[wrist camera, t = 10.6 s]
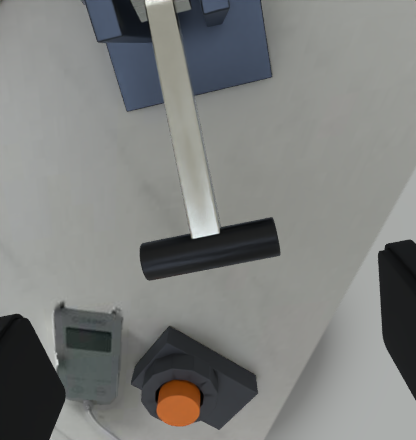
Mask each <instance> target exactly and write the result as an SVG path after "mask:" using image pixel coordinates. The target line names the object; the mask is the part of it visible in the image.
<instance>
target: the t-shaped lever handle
mask: <svg viewBox="0 0 416 440" xmlns="http://www.w3.org/2000/svg"><path fill="white" fill-rule="evenodd" d="M129 2H130V3H131V5H132V7H133V9H134V11H135V13H136V14H137V16H138V18H139V20H140V22H145V21H148V25H149V30H150V35H151V40H152V45H153V50H154V55H155V60H156V65H157V70H158V75H159V80H160V85H161V90H162V95H163V100H164V105H165V110H166V115H167V120H168V125H169V130H170V135H171V140H172V145H173V150H174V155H175V160H176V165H177V170H178V175H179V180H180V185H181V190H182V195H183V200H184V205H185V210H186V215H187V220H188V225H189V230H190V234H186V235H181V236H176V237H171V238H166V239H161V240H156V241H151V242H146V243H142V244H141V246H140V262H141V267H142V270H143V273H144V275H145V277H146V279H147V280H156V279H161V278H166V277H171V276H176V275H182V274H187V273H192V272H197V271H203V270H208V269H213V268H218V267H224V266H229V265H234V264H239V263H244V262H250V261H255V260H260V259H265V258H271V257H276V256H280V246H279V240H278V235H277V231H276V227H275V223H274V220H273V218H272V217H270V218H265V219H260V220H255V221H250V222H245V223H240V224H235V225H230V226H225V227H221V223H220V218H219V213H218V208H217V203H216V199H215V194H214V189H213V184H212V179H211V174H210V169H209V164H208V159H207V154H206V149H205V144H204V139H203V134H202V129H201V124H200V119H199V115H198V110H197V105H196V100H195V95H194V90H193V85H192V80H191V75H190V70H189V65H188V60H187V55H186V50H185V45H184V40H183V35H182V31H181V26H180V21H179V16H178V13H180V12H184V11H187V10H191V8H192V5H191V0H129Z"/></svg>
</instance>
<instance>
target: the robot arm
mask: <svg viewBox="0 0 416 440" xmlns="http://www.w3.org/2000/svg"><path fill="white" fill-rule="evenodd" d="M378 264H379V281H380V298H381V317H382V334H383V340H384V343H385V346H386V348H387V350H388V352H389V354H390V355H391V357H392V359H393V361H394V363H395V364H396V366H397V368H398V370H399V371H400V373H401V375H402V377H403V379H404V380H405V382H406V384H407V386H408V387H409V389H410V391H411V393H412V394H413V396H414V398H415V400H416V244H415V243H414V242H413V241H412V240H405V241H400V242H394V243H388V244H386V245H385V250H383V251H379V253H378ZM64 402H65V389H64V386H63V384H62V382H61V380H60V378H59V376H58V375H57V373H56V371H55V369H54V367H53V365H52V363H51V361H50V359H49V357H48V355H47V353H46V351H45V349H44V348H43V346H42V344H41V342H40V340H39V338H38V336H37V334H36V332H35V330H34V328H33V326H32V324H31V323H30V321H29V320H28V319H27V318H23V316H21V315H20V314H13V315H8V316H3V317H0V440H49V439H50V436H51V434H52V431H53V429H54V427H55V424H56V422H57V419H58V417H59V414H60V412H61V409H62V407H63V404H64Z"/></svg>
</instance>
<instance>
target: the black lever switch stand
mask: <svg viewBox="0 0 416 440" xmlns="http://www.w3.org/2000/svg"><path fill="white" fill-rule="evenodd" d="M81 1H82V3H83V4H84V5H86V7H87V10H88V14H89V17H90V20H91V23H92V26H93V30H94V33H95V36H96V39H97V42H99V43H106V45H107V48H108V51H109V55H110V58H111V61H112V65H113V68H114V71H115V74H116V78H117V81H118V84H119V87H120V91H121V94H122V97H123V101H124V104H125V107H126V110H127V112H128V111H132V110H137V109H141V108H145V107H149V106H153V105H158V104H162V103H164V100H163V95H162V90H161V85H160V80H159V75H158V70H157V65H156V60H155V55H154V50H153V45H152V40H151V35H150V30H149V25H148V21H145V22H140V20H139V18H138V16H137V14H136V13H135V11H134V9H133V7H132V5H131V3H130V2H129V0H81ZM191 5H192V8H191V10H187V11H184V12H180V13H178V16H179V21H180V26H181V31H182V35H183V40H184V45H185V50H186V55H187V60H188V65H189V70H190V75H191V80H192V85H193V90H194V95H200V94H204V93H208V92H212V91H217V90H221V89H225V88H229V87H233V86H238V85H242V84H246V83H250V82H254V81H259V80H263V79H267V78H271V77H272V72H271V65H270V59H269V52H268V46H267V39H266V32H265V26H264V19H263V13H262V6H261V0H191Z"/></svg>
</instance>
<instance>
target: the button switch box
mask: <svg viewBox="0 0 416 440" xmlns="http://www.w3.org/2000/svg"><path fill="white" fill-rule="evenodd" d="M172 380H187V381H189V382H191V383H193V384H195V385H196V386H197V387H198V389H199V391H200V414H199V417H198V418H197V420H196V421H194V422H198V421H203V422H205V423H207V424H209V425H211V426H213V427H215V428H217V429H218V430H220V429H221V428H222V427H223V426H224V425H225V424H226V423H227V422H228V421H229V420H230V419H231V418H232V417H233V416H234V415H235V414H237V413H238V412H239V411H240V410H241V409H242V408H243V407H244V406H245V405H246V404H247V403H248V402H249V401H250V400H251V399H253V398H254V397H255V396H256V395H257V394H258V390H257V382H256V375H254V374H253V373H251V372H249V371H247V370H246V369H244V368H242V367H240V366H239V365H237V364H235V363H233V362H232V361H230V360H228V359H226V358H225V357H223V356H221V355H219V354H218V353H216V352H214V351H212V350H211V349H209V348H207V347H205V346H204V345H202V344H200V343H198V342H197V341H195V340H193V339H191V338H189V337H188V336H186V335H184V334H182V333H181V332H179V331H177V330H175V329H174V328H172V327H170V326H169V327H168V328H167V329H166V331H165V332H164V333H163V334H162V335H161V336H160V338H159V339H158V340H157V341H156V342H155V344H154V345H153V346H152V347H151V348H150V349H149V351H148V352H147V353H146V354H145V355H144V356H143V358H142V359H141V360H140V361H139V362H138V363H137V365H136V366H135V368H134V373H133V377H132V381H131V385H133V386H135V387H137V388H139V389H141V390H142V399H141V401H142V403H143V405H144V406H145V408H146V409H147V410H148V412H149V413H150V415H151V416H153V417H155V418H157V419H159V420H161V419H160V418H159V417H158V415H157V403H158V396H159V391H160V388H161V387H162V386H163V385H164V384H165V383H166V382H169V381H172ZM161 421H162V420H161ZM194 422H193V423H194Z"/></svg>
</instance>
